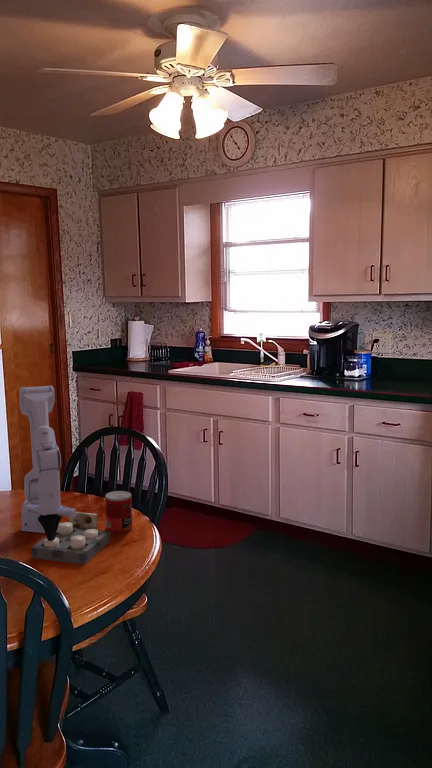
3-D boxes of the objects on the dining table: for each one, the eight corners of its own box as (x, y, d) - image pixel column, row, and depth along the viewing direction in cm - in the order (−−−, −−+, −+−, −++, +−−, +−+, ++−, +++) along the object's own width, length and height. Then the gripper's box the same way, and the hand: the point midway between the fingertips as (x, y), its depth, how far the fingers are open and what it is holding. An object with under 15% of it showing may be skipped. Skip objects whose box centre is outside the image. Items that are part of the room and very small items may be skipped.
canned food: (127, 535, 183) (126, 499, 182) (102, 533, 185) (101, 498, 183) (135, 525, 191) (135, 491, 189) (111, 523, 192) (110, 489, 191)
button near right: (67, 550, 167) (67, 540, 166) (74, 544, 170) (74, 534, 170) (81, 551, 166) (80, 541, 165) (88, 545, 169) (87, 536, 169)
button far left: (56, 536, 176) (55, 526, 176) (62, 530, 180) (62, 521, 180) (68, 537, 175) (68, 528, 175) (75, 532, 179) (74, 523, 179)
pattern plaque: (68, 533, 185) (68, 512, 184) (70, 531, 186) (69, 511, 185) (96, 536, 183) (95, 515, 182) (97, 534, 184) (97, 513, 183)
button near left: (41, 551, 169) (41, 542, 168) (49, 545, 173) (48, 536, 172) (54, 553, 168) (54, 543, 167) (62, 547, 172) (61, 537, 171)
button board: (31, 558, 168) (31, 547, 167) (60, 535, 183) (60, 526, 182) (85, 564, 164) (84, 553, 163) (110, 540, 179) (109, 531, 178)
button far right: (81, 543, 175) (81, 533, 174) (88, 537, 178) (87, 528, 178) (94, 544, 174) (94, 535, 173) (100, 539, 177) (100, 529, 177)
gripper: (17, 494, 166) (20, 542, 168) (66, 499, 162) (68, 547, 164) (31, 486, 173) (34, 532, 175) (78, 490, 169) (80, 537, 171)
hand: (51, 539), depth 170 cm, fingers closed
